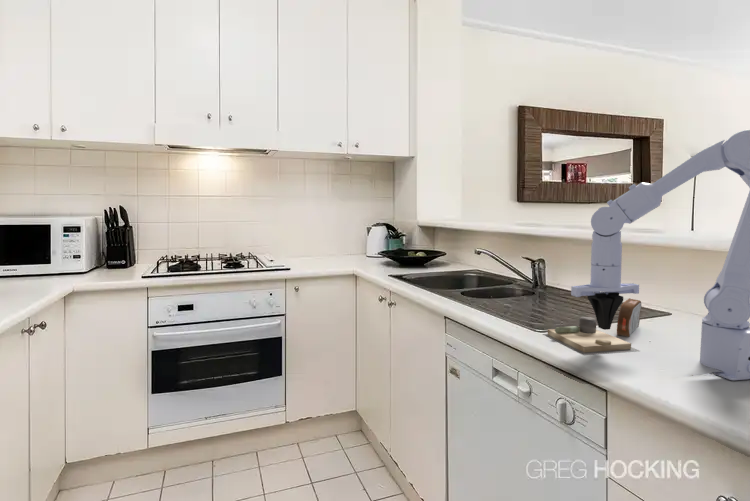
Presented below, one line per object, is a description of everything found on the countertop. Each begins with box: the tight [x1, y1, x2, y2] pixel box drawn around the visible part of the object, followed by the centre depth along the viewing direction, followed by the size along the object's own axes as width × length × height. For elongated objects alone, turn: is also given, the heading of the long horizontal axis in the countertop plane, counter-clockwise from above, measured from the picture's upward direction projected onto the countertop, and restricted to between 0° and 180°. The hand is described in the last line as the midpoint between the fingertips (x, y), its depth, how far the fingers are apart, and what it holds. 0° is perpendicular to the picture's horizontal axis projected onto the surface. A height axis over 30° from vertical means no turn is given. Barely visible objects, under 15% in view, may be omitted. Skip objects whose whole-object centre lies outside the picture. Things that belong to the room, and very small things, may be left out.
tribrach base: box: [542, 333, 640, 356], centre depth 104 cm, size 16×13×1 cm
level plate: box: [547, 316, 632, 352], centre depth 104 cm, size 14×11×4 cm
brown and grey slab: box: [616, 297, 642, 338], centre depth 113 cm, size 15×3×8 cm, turn 141°
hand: (604, 328), depth 98 cm, fingers closed
